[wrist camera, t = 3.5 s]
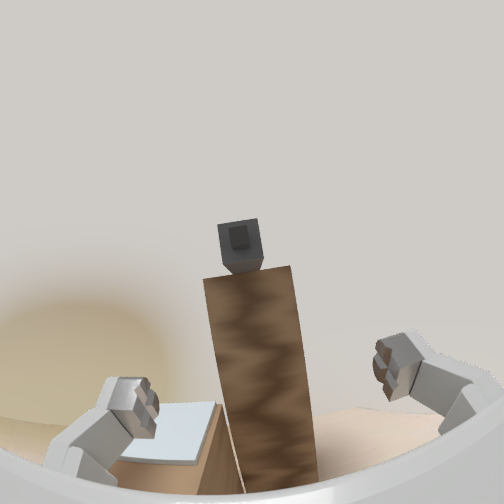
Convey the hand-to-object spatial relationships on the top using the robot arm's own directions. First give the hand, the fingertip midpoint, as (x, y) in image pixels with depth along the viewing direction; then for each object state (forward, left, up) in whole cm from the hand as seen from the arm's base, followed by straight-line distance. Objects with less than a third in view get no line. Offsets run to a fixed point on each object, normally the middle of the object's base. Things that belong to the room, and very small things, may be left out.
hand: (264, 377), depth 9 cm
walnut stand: (-4, +13, -21) cm, 25 cm away
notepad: (-8, +9, -7) cm, 14 cm away
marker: (0, +18, +5) cm, 19 cm away
